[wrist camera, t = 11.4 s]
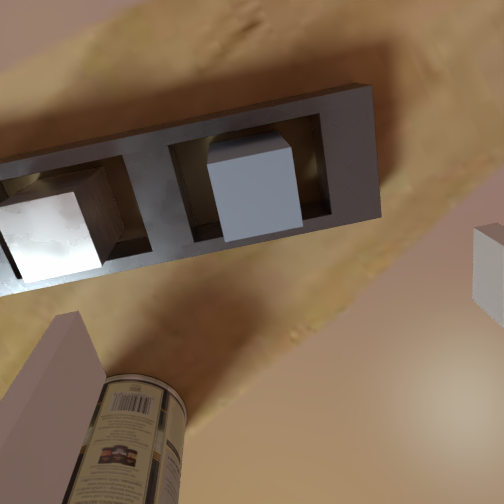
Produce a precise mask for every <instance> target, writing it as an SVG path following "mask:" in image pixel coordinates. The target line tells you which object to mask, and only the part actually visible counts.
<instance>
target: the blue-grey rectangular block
mask: <svg viewBox="0 0 504 504" xmlns="http://www.w3.org/2000/svg"><path fill="white" fill-rule="evenodd" d="M207 168H208V172H209V176H210V180H211V185H212V189H213V193H214V197H215V201H216V206H217V210H218V214H219V218H220V223H221V227H222V231H223V235H224V240H225V242H229V241H234V240H239V239H243V238H248V237H253V236H258V235H263V234H268V233H273V232H278V231H283V230H288V229H293V228H298V227H303V222H302V216H301V209H300V202H299V196H298V189H297V182H296V176H295V169H294V162H293V156H292V149H291V146H290V145H289V144H288V143H287V142H286V141H285V139H284V138H283V137H282V136H281V135H280V134H279V132H278V131H277V130H275V131H270V132H266V133H261V134H256V135H251V136H246V137H241V138H237V139H232V140H227V141H222V142H217V143H212V144H209V152H208V159H207Z"/></svg>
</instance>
